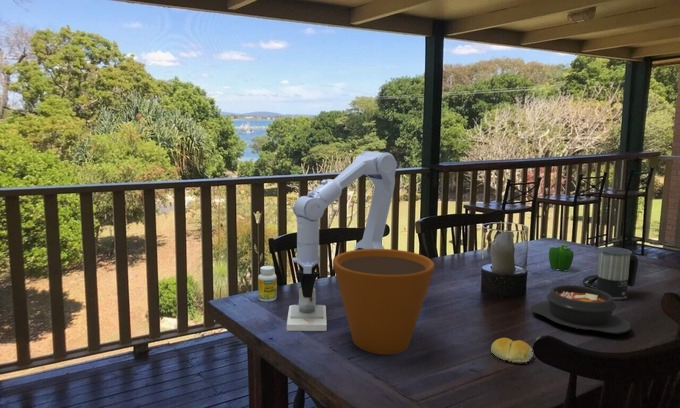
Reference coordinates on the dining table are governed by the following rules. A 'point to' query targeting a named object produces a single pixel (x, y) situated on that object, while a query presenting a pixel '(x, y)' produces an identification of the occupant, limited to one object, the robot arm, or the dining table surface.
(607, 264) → the milk frother
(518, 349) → the bread roll
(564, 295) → the casserole
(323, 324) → the scale
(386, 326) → the flower pot
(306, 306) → the cylinder
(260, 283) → the supplement bottle
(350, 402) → the dining table surface
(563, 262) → the bell pepper
